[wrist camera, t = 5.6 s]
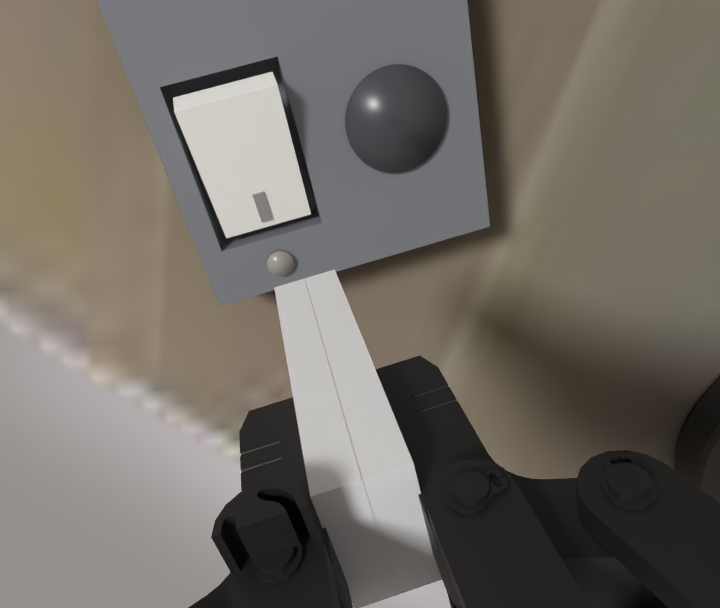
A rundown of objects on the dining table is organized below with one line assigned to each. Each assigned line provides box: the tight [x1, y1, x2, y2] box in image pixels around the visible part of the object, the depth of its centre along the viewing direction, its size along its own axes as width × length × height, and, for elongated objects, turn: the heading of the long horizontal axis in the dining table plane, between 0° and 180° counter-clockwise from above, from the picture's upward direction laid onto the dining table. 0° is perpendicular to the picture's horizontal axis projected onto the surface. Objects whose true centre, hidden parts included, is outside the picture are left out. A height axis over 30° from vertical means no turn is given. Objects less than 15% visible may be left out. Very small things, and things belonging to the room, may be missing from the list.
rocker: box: [173, 72, 311, 238], centre depth 19 cm, size 5×3×1 cm, turn 13°
